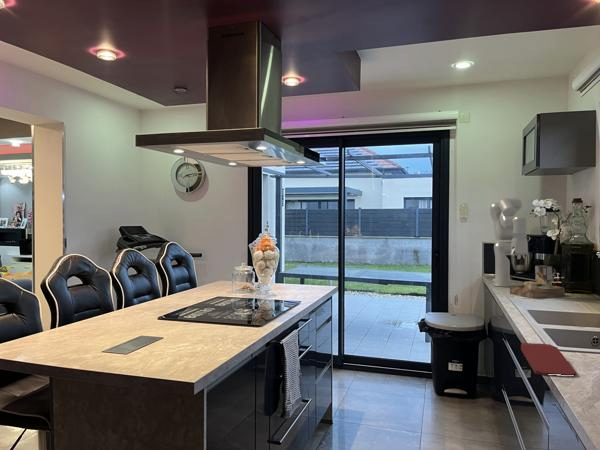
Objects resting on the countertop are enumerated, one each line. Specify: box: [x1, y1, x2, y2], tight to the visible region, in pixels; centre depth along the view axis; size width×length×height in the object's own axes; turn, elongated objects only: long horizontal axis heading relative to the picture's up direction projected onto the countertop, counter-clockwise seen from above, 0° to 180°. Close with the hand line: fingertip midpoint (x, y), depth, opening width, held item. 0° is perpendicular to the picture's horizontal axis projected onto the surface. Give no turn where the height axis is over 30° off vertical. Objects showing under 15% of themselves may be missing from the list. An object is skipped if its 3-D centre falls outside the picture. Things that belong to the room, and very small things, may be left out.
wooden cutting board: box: [509, 284, 566, 299], centre depth 291 cm, size 18×26×5 cm
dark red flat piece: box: [520, 342, 577, 377], centre depth 160 cm, size 12×5×25 cm
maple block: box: [523, 281, 537, 289], centre depth 295 cm, size 5×5×4 cm
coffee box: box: [534, 264, 554, 286], centre depth 310 cm, size 9×6×16 cm
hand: (519, 264), depth 291 cm, fingers open, 3 cm apart
